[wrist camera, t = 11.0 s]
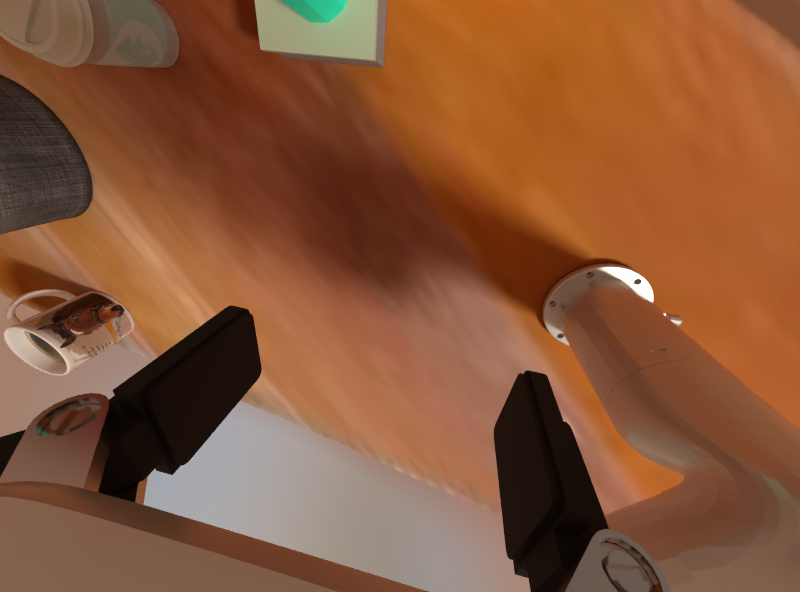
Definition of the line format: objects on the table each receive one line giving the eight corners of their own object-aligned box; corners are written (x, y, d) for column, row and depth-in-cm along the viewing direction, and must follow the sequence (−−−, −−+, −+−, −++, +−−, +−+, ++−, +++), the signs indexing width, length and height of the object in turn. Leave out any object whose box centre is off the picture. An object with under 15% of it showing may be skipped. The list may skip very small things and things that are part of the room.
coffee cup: (142, 88, 33) (6, 70, 23) (97, -14, 29) (-94, -91, 19) (205, 77, 32) (89, 53, 22) (167, -33, 28) (1, -128, 17)
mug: (97, 331, 57) (27, 372, 47) (61, 277, 51) (-28, 311, 41) (144, 336, 55) (80, 379, 46) (112, 281, 49) (32, 317, 40)
